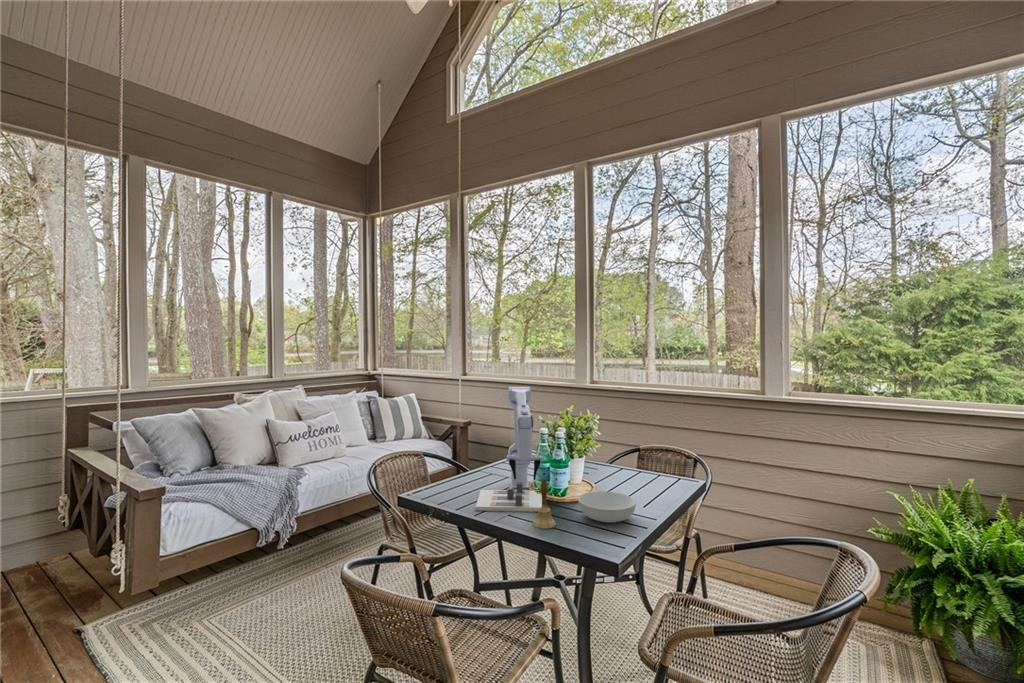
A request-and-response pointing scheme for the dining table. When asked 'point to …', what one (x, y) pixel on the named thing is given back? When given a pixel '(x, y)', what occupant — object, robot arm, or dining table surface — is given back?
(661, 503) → the dining table surface
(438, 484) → the dining table surface
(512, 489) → the breaker
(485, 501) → the panel
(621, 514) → the serving bowl
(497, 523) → the dining table surface
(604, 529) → the dining table surface
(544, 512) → the hand bell
